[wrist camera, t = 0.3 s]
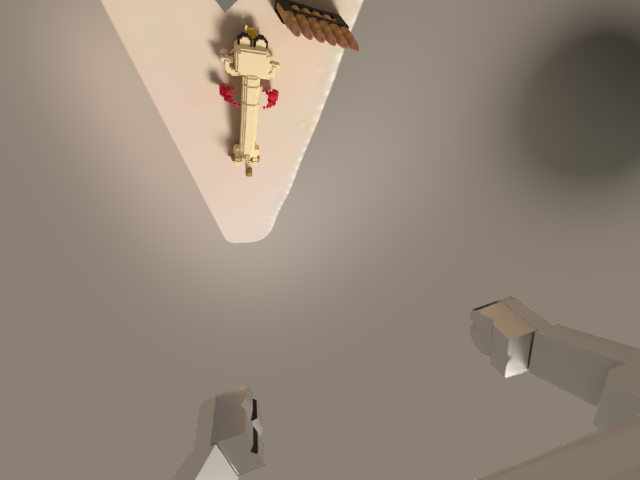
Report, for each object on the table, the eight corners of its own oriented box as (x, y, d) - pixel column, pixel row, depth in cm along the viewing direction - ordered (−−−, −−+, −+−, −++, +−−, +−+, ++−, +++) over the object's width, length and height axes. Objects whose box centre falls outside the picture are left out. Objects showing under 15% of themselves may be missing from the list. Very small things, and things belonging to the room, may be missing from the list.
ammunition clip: (274, 11, 46) (290, 41, 39) (276, -4, 45) (293, 25, 38) (336, 29, 51) (361, 59, 44) (340, 16, 49) (366, 45, 42)
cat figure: (266, 153, 68) (283, 28, 48) (273, 181, 63) (294, 56, 43) (220, 152, 64) (217, 17, 45) (223, 181, 60) (221, 46, 40)
